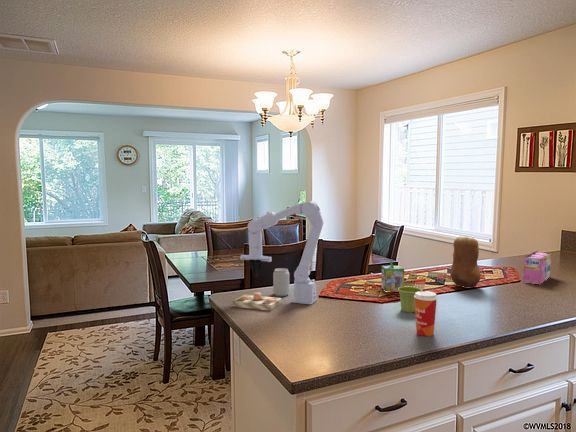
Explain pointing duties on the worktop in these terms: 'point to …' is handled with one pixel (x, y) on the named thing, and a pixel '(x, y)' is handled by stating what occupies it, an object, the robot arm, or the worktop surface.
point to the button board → (257, 303)
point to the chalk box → (392, 277)
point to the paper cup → (425, 312)
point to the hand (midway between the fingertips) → (256, 276)
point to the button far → (245, 297)
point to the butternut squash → (465, 262)
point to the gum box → (537, 267)
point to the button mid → (257, 296)
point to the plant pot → (408, 298)
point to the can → (281, 282)
